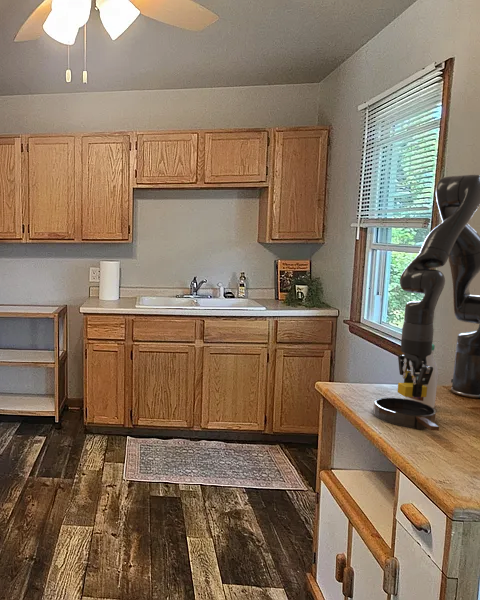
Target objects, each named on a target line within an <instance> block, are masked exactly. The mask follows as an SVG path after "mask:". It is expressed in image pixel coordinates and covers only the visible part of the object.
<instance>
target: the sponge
mask: <svg viewBox="0 0 480 600" xmlns="http://www.w3.org/2000/svg"><path fill="white" fill-rule="evenodd" d="M412 391H413V383H404V382H397V393H398V394H400V395H401V396H403V397H404V398H405V397H414V396H412ZM426 396H427V387H426V386H424V385H423V386H422V395H421V397H426Z"/></svg>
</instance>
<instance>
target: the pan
mask: <svg viewBox="0 0 480 600" xmlns="http://www.w3.org/2000/svg"><path fill="white" fill-rule="evenodd" d="M372 412H373V415H374V416H375V417H376V418H378V419H379V420H381V421H383V422H386V423H389V424H392V425H396V426H400V427H405V428H413V429H416V428H415V423H416V416H420V417H425V418H426V419H428V420H430V421H431V422H433V423H434V424H436V420H437V410H436V409H435V407H434V408H433V407H431V406H429V405H427V404H424V403H421V402H417V401H414V400H409V399H405V398H403V397H389V396H388V397H387V396H386V397H380V398H377V399H375V400H374V401H373V411H372ZM426 428H427V427H425V429H426ZM427 429H428V428H427Z"/></svg>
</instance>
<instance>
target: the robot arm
mask: <svg viewBox="0 0 480 600" xmlns="http://www.w3.org/2000/svg"><path fill="white" fill-rule="evenodd" d="M435 197H436V203H437V207H438V210H439V215H440V218H441V221H442V222H440V224H438V225H437V226H435V227H434V228H433V229H432V230H431V231H430V232H429V233H428V234H427V236H426V238H425V239H424V242H423V243H422V246H421V247H420V250H419V253H418V254H417V255H416V256H415V257H414V258H413V259H412V261H411V262H410V263H409V264H408V265H407V266H406V267H405V269H404V270H403V271H402V273H401V275H400V277H399V285H400V288H401V289H402V291H404V292H406V293H412V294H420V295H421V294H423V295H424V296H423V298H421V300H411V301H408V302H407V303H405V307H404V315H403V316H404V317H403V324H402V329H401V340H400V352H401V353H403V354H401V355H400V354H398V356H397V360H398V361H397V362H398V370H399V375H400V376H402V379H403V383H413V391H412V396H414V397H421V395H422V386H423V385H428V383H429V380H430V377H431V375H432V372H433V367H429V366H428V365H427V361H426V357H427V356H428V355H431V353H432V344H434V342H433V341H434V319H435V309H436V307H437V304H438V301H439V299H440V296H441V294H442V292H443V290H444V288H445V284H446V277H445V275H444V273H443V272H442V271H440V270H438V269H437V268H441V267H444V266H445V265H446V263H447V261H448V264H449V269H450V274H451V282H452V298H453V299H452V300H453V302H452V304H453V312H454V316H455V318H456V319H457V321H459V322H463V323H469V324H475V325H478V328H476V329H475V330H472V331H466V332H464V331H463V332H460V333H458V334H457V337H456V344H455V345H456V346H455V356H454V365H453V374H452V378H451V380H450V383H451V389H450V391H451V393H453V394H454V395H458V396H461V397H465V398H471V399H480V295H477V294H471V292H470V287H471V286H470V285H471V283H472V282H473V280H474V279H475V278H476V277H477V275H478V274H479V273H480V234H479V233H478V232H477V231H476V230H475V229H474V228H473V227H472V226H471V225H470V224H469V222H470V220H471V219H472V218H473V216H474V215H475V213H476V211H478V209H479V207H480V174H464V175H451V176H450V175H449V176H444V177H442V178H440V179H439V180H438V182H437V183H436V187H435ZM416 373H420V374H416ZM418 376H419V377H418ZM417 377H418V380H417ZM424 378H425V380H424ZM412 379H413V380H412Z"/></svg>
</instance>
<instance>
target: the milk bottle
mask: <svg viewBox="0 0 480 600" xmlns="http://www.w3.org/2000/svg"><path fill="white" fill-rule="evenodd" d="M435 348H436V345H435V343H432V353H431V355H428V356H427V357H426V361H427V365H428V366H429V367H433V372H432V375H431V377H430V380H429V383H428V385H424V386H426V387H427V396H426V397H404V399H409V400H414V401H417V402H421V403H424V404H427V405H429V406H431V407H433V408H434V409H435V407H436V398H437V389H438V387H437V386H438V380H439V379H438V376H439V369H438V365H437V362H436V361H435V357H434V352H435ZM416 374H420V373H416ZM418 377H419V376H418ZM418 377H417V380H418ZM412 380H413V379H412ZM424 380H425V378H424Z"/></svg>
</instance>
